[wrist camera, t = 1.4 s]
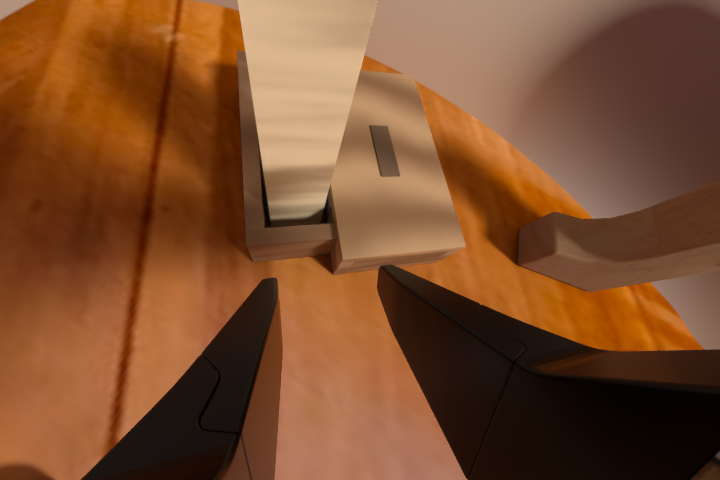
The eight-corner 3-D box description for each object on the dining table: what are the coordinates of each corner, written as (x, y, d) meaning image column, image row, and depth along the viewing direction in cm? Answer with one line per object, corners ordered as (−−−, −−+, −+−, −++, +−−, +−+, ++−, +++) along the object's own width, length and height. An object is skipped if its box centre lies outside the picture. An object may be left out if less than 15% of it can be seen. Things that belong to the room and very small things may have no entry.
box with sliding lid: (437, 262, 26) (467, 245, 21) (254, 284, 21) (245, 269, 17) (393, 99, 32) (409, 61, 27) (243, 89, 27) (235, 42, 23)
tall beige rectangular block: (319, 224, 24) (399, -79, 7) (271, 227, 23) (219, -127, 6) (312, 174, 25) (363, -175, 8) (267, 175, 24) (216, -228, 7)
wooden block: (515, 265, 28) (840, 156, 11) (517, 227, 30) (800, 86, 13) (589, 293, 29) (984, 229, 12) (586, 255, 31) (928, 155, 14)
